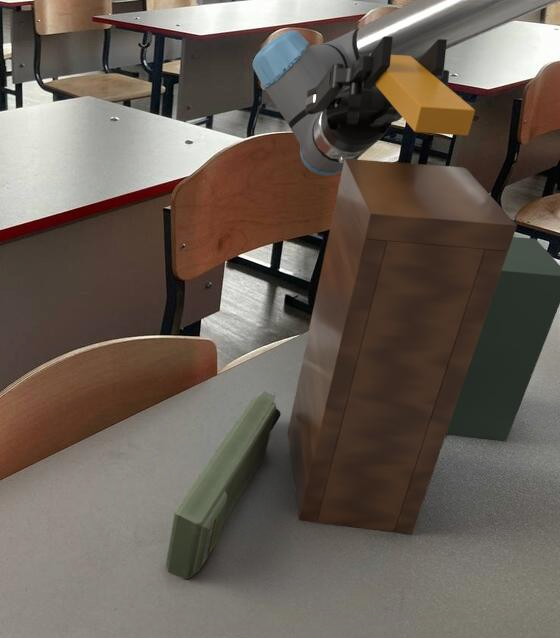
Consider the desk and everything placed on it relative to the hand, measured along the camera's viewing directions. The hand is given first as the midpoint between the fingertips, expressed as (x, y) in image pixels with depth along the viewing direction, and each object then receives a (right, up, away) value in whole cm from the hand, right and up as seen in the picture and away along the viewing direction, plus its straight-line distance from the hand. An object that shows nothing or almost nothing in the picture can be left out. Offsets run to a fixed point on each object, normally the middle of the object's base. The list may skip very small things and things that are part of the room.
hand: (413, 52), depth 69 cm
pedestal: (+11, -34, +16) cm, 40 cm away
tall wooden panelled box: (-4, -40, +6) cm, 41 cm away
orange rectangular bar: (0, -4, 0) cm, 4 cm away
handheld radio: (-16, -41, +4) cm, 44 cm away
